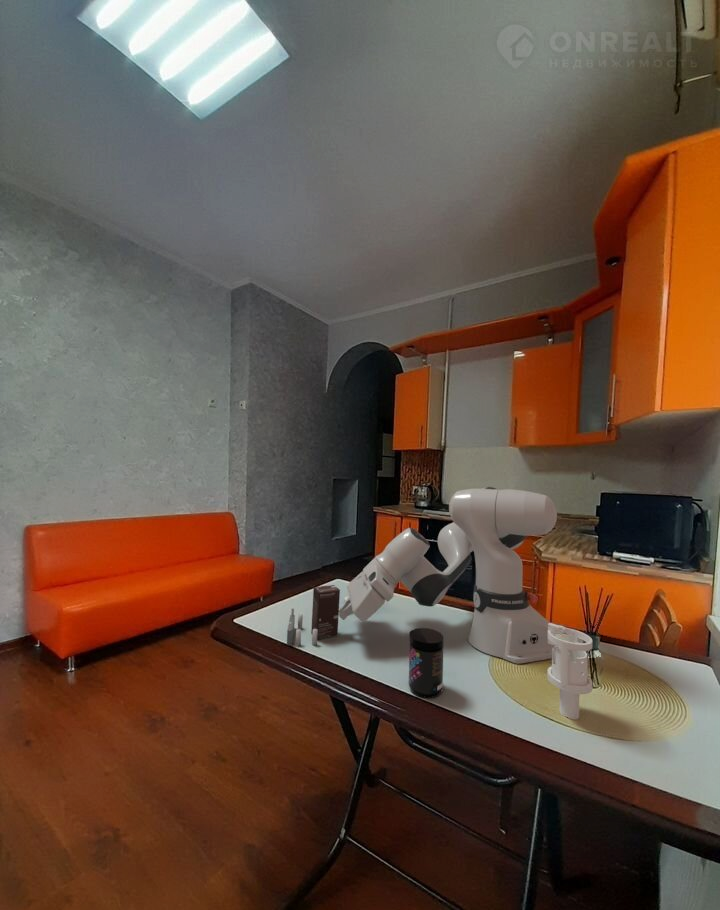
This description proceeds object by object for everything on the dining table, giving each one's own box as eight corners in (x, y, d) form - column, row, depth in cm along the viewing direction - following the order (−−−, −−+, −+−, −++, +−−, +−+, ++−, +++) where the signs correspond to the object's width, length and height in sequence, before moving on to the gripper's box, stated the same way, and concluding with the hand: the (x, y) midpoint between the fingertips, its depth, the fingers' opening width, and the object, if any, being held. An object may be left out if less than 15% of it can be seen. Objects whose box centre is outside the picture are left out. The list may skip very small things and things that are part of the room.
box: (317, 641, 90) (318, 592, 90) (310, 633, 94) (312, 586, 94) (339, 636, 92) (340, 589, 93) (332, 629, 96) (333, 584, 97)
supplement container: (415, 675, 76) (416, 625, 76) (447, 686, 72) (448, 633, 73) (402, 691, 70) (404, 637, 70) (436, 704, 67) (437, 646, 67)
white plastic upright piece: (553, 696, 70) (554, 617, 71) (596, 714, 65) (596, 629, 66) (541, 713, 65) (542, 628, 66) (587, 733, 60) (587, 641, 61)
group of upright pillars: (317, 627, 98) (317, 607, 98) (317, 645, 87) (317, 623, 88) (290, 627, 97) (290, 607, 97) (286, 646, 87) (287, 623, 87)
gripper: (365, 559, 105) (331, 593, 104) (376, 580, 85) (333, 623, 84) (380, 574, 106) (346, 609, 104) (394, 599, 85) (352, 642, 84)
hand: (340, 615), depth 94 cm, fingers closed
